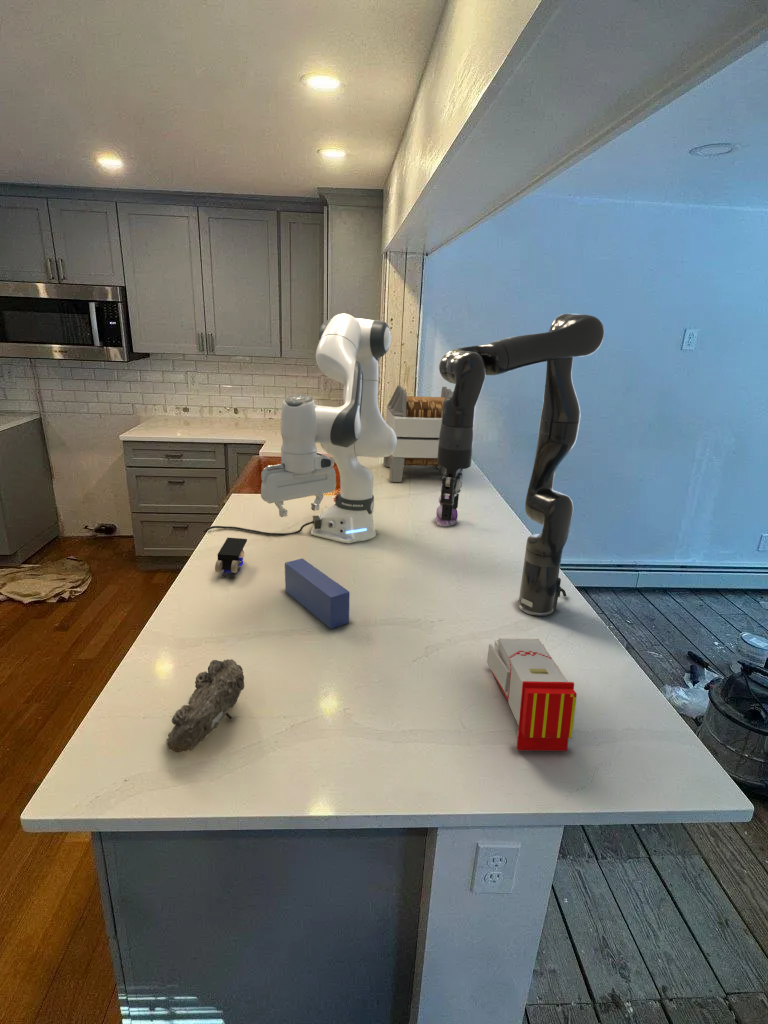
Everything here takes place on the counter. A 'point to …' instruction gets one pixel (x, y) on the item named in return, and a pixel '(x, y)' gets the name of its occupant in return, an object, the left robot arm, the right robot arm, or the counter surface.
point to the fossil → (206, 705)
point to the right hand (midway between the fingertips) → (449, 513)
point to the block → (317, 593)
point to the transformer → (414, 430)
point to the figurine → (439, 514)
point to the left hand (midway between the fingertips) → (299, 513)
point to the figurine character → (230, 556)
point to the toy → (534, 693)
